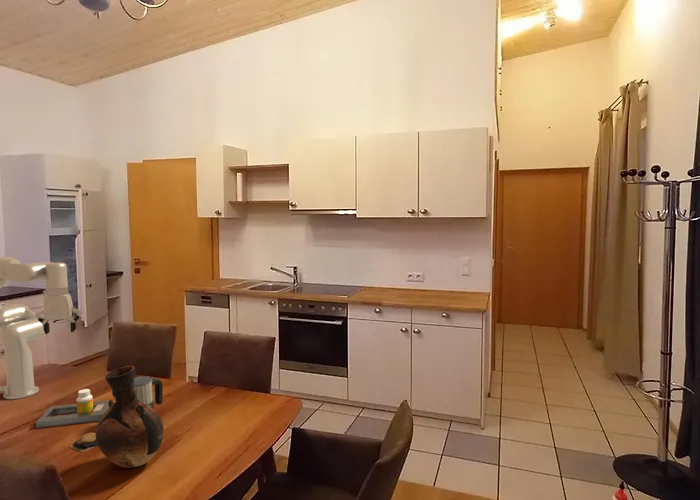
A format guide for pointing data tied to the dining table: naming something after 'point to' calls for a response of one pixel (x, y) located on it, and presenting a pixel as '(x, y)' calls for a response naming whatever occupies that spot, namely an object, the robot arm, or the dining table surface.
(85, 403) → the supplement bottle
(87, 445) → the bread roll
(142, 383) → the milk frother
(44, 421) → the grey rectangular frame
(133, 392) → the ceramic vessel
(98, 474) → the dining table surface
